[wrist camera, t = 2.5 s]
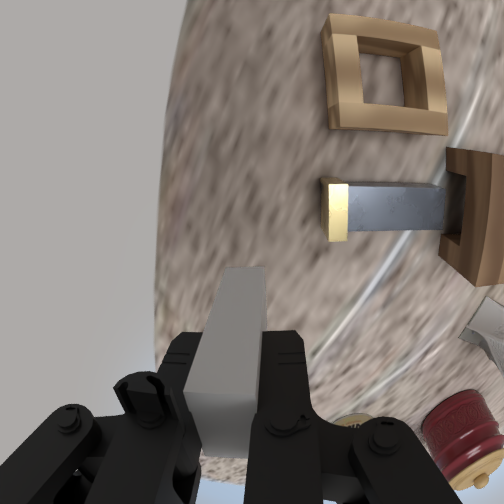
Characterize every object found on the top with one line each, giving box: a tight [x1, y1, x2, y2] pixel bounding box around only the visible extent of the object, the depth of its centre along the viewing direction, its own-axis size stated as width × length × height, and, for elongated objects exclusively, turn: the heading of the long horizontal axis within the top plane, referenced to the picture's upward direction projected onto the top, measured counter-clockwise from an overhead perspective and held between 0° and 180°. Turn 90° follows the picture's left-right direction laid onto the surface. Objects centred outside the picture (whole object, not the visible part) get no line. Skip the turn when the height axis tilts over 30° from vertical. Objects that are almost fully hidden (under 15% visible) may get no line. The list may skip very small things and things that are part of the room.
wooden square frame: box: [321, 13, 448, 136], centre depth 21 cm, size 10×10×5 cm
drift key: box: [320, 178, 446, 242], centre depth 25 cm, size 12×5×4 cm, turn 94°
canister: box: [422, 390, 504, 491], centre depth 31 cm, size 13×13×18 cm
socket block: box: [438, 147, 504, 287], centre depth 23 cm, size 12×12×8 cm
